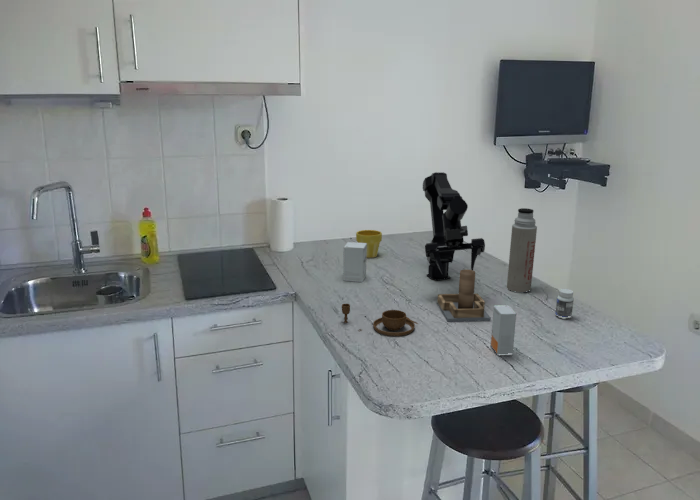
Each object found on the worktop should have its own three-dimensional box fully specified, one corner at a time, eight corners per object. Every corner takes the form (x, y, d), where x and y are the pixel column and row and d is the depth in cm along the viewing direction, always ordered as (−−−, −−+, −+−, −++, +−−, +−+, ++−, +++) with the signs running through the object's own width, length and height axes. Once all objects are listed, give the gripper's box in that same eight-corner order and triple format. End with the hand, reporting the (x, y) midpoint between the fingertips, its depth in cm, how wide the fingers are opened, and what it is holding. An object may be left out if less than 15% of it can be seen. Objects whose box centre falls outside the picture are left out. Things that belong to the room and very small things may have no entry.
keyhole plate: (436, 304, 186) (437, 293, 185) (476, 303, 187) (477, 292, 186) (447, 321, 172) (448, 310, 171) (490, 320, 173) (491, 309, 172)
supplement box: (363, 282, 206) (363, 248, 202) (342, 281, 207) (342, 246, 204) (366, 276, 213) (367, 242, 209) (346, 274, 214) (347, 241, 211)
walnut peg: (459, 308, 180) (462, 268, 176) (474, 311, 178) (477, 270, 174) (455, 313, 176) (458, 272, 172) (470, 316, 174) (473, 274, 171)
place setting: (388, 345, 158) (388, 325, 156) (337, 324, 172) (337, 305, 170) (428, 327, 170) (429, 308, 168) (378, 308, 183) (378, 291, 182)
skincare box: (489, 346, 157) (493, 305, 153) (505, 346, 157) (508, 304, 154) (497, 356, 151) (500, 313, 147) (513, 356, 151) (517, 313, 148)
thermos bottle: (535, 290, 199) (544, 210, 191) (518, 294, 195) (525, 212, 188) (519, 283, 206) (526, 206, 198) (501, 287, 202) (508, 208, 194)
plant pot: (357, 251, 243) (357, 228, 240) (382, 252, 242) (382, 229, 239) (354, 258, 233) (354, 235, 231) (380, 260, 232) (380, 236, 229)
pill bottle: (551, 315, 178) (554, 289, 176) (564, 313, 180) (567, 287, 178) (562, 320, 174) (565, 294, 172) (574, 318, 176) (578, 292, 173)
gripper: (422, 220, 184) (426, 266, 178) (482, 214, 181) (488, 261, 175) (424, 234, 194) (428, 278, 188) (481, 228, 191) (487, 273, 185)
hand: (457, 272), depth 184 cm, fingers open, 9 cm apart
